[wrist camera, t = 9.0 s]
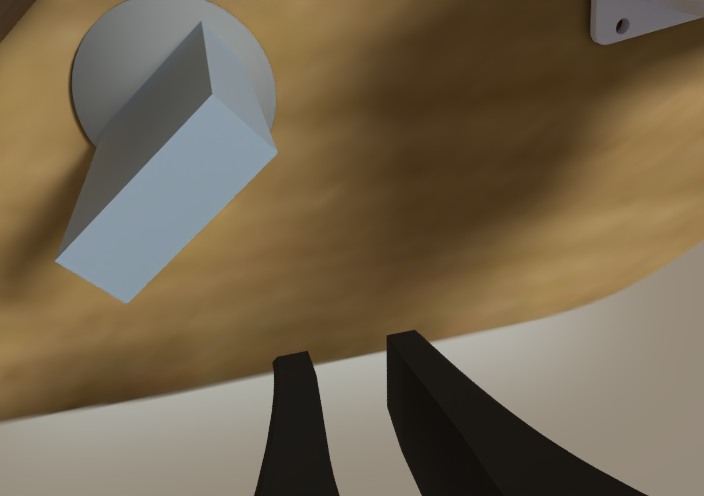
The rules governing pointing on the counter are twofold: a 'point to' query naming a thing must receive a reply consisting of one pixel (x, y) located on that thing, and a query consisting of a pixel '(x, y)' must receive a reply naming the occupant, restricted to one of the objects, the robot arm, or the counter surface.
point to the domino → (11, 14)
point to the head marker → (154, 55)
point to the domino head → (166, 166)
